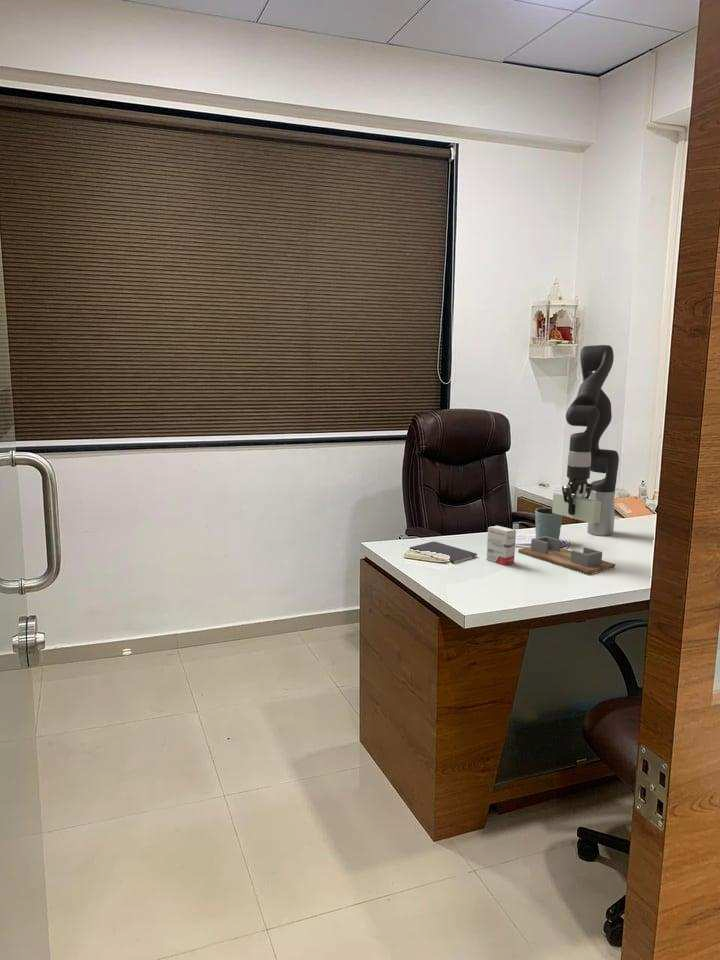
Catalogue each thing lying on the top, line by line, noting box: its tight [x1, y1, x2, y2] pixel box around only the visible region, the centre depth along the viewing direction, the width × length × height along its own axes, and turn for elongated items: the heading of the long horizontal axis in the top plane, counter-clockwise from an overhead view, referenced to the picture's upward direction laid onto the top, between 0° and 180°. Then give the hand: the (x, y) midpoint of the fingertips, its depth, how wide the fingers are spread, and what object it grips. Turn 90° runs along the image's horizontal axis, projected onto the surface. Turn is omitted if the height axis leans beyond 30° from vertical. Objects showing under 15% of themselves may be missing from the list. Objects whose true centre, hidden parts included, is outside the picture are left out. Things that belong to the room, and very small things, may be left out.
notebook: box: [409, 541, 478, 565], centre depth 249 cm, size 13×2×21 cm
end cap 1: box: [530, 536, 561, 554], centre depth 248 cm, size 7×7×4 cm
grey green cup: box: [534, 507, 564, 540], centre depth 263 cm, size 10×10×12 cm
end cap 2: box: [570, 546, 603, 567], centre depth 234 cm, size 7×7×4 cm
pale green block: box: [551, 492, 602, 523], centre depth 240 cm, size 4×18×7 cm, turn 31°
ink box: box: [486, 525, 517, 566], centre depth 238 cm, size 8×5×12 cm, turn 39°
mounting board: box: [517, 546, 616, 576], centre depth 242 cm, size 14×30×1 cm, turn 34°
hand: (575, 513), depth 240 cm, fingers closed on pale green block, 3 cm apart
